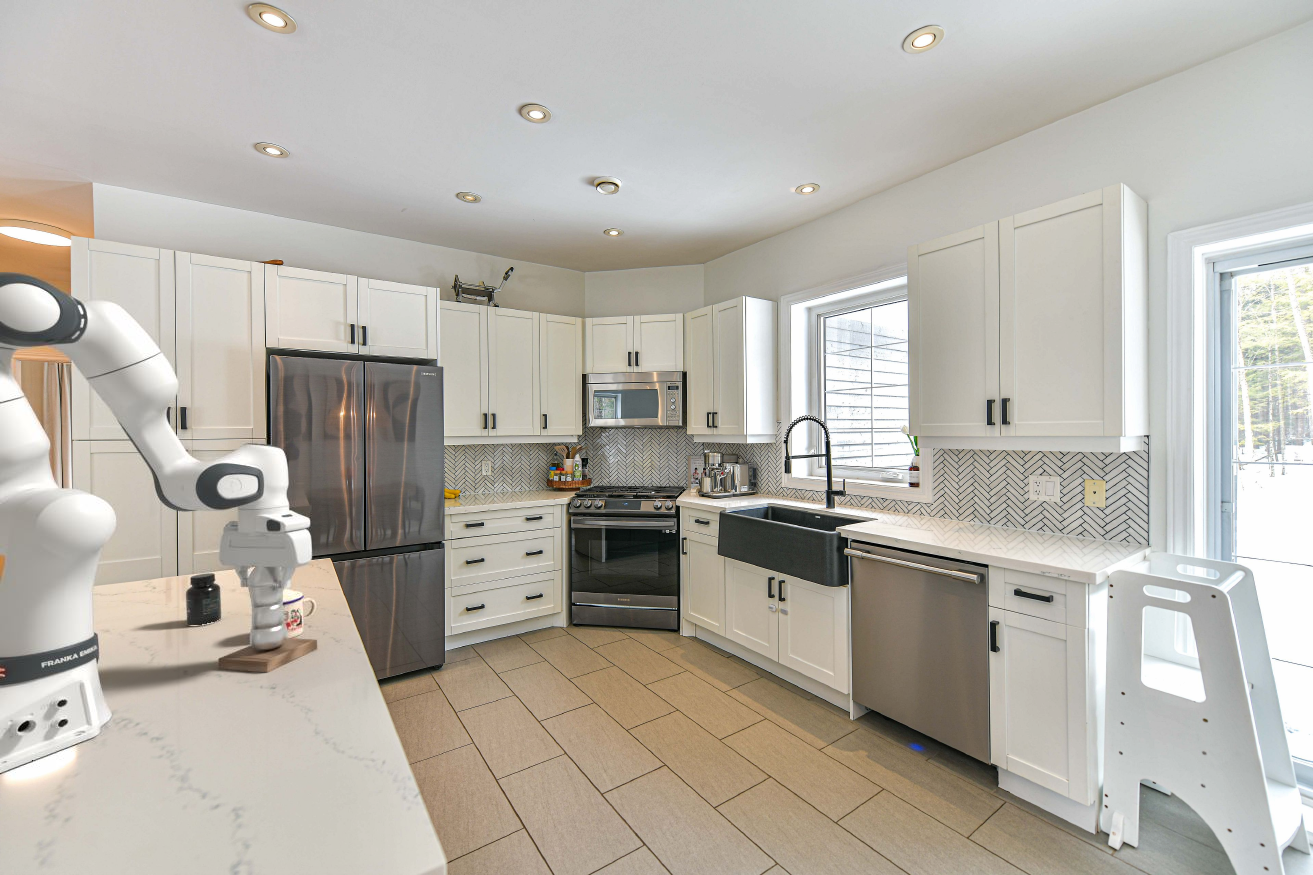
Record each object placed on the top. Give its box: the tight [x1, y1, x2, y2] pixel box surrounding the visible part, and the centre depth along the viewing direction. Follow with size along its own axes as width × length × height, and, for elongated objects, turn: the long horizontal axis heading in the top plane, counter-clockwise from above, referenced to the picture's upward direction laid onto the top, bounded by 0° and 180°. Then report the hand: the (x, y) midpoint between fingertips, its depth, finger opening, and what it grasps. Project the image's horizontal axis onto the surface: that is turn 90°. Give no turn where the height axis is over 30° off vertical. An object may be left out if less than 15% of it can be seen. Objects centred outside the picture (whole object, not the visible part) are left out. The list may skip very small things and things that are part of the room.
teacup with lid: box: [282, 588, 317, 638], centre depth 132 cm, size 12×9×12 cm
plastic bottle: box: [247, 562, 288, 651], centre depth 117 cm, size 6×7×20 cm
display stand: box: [218, 637, 318, 673], centre depth 118 cm, size 12×12×2 cm
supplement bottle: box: [185, 572, 222, 626], centre depth 143 cm, size 7×7×12 cm
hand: (265, 587), depth 117 cm, fingers open, 8 cm apart
